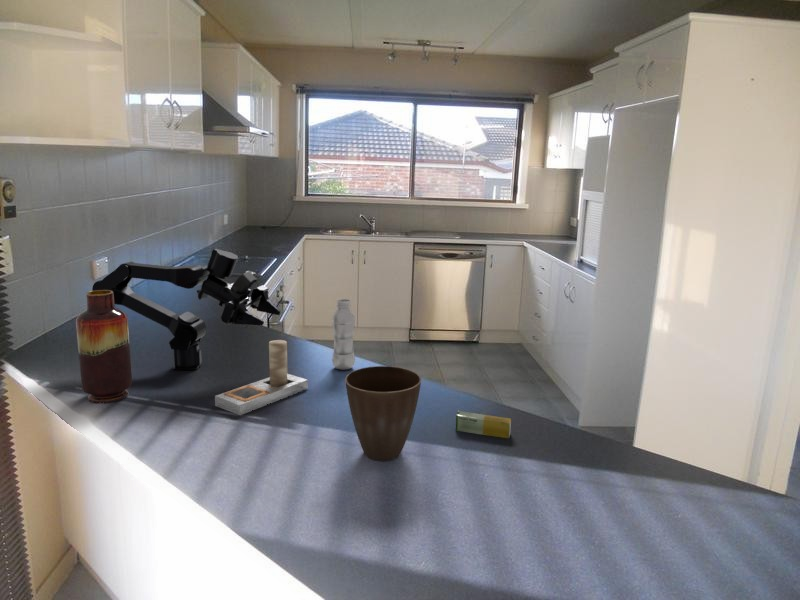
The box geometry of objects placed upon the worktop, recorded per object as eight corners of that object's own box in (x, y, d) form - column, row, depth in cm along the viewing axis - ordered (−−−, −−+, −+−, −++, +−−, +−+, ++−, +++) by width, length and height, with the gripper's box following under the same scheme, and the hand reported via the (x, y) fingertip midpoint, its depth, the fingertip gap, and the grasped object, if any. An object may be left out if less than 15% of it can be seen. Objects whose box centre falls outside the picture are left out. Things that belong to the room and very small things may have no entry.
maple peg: (269, 394, 151) (268, 345, 148) (270, 388, 155) (269, 340, 152) (287, 394, 151) (286, 344, 148) (288, 388, 155) (287, 339, 153)
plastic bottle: (359, 366, 173) (359, 299, 169) (347, 373, 167) (347, 304, 163) (339, 363, 176) (339, 297, 172) (327, 370, 170) (327, 301, 166)
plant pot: (392, 479, 111) (394, 397, 108) (329, 457, 119) (329, 381, 115) (432, 449, 123) (434, 375, 120) (372, 431, 131) (373, 361, 128)
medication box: (454, 431, 133) (455, 414, 132) (456, 426, 135) (457, 410, 134) (509, 439, 129) (510, 422, 128) (510, 434, 132) (511, 417, 131)
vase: (83, 408, 140) (72, 298, 134) (83, 392, 149) (73, 289, 144) (134, 400, 145) (126, 295, 139) (131, 386, 154) (123, 286, 149)
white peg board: (240, 415, 138) (239, 404, 137) (215, 405, 143) (214, 395, 142) (307, 388, 155) (307, 379, 155) (283, 381, 160) (283, 371, 160)
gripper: (211, 274, 152) (263, 302, 150) (249, 259, 169) (296, 284, 167) (200, 311, 156) (250, 339, 154) (238, 292, 173) (284, 317, 171)
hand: (271, 318), depth 161 cm, fingers open, 9 cm apart
